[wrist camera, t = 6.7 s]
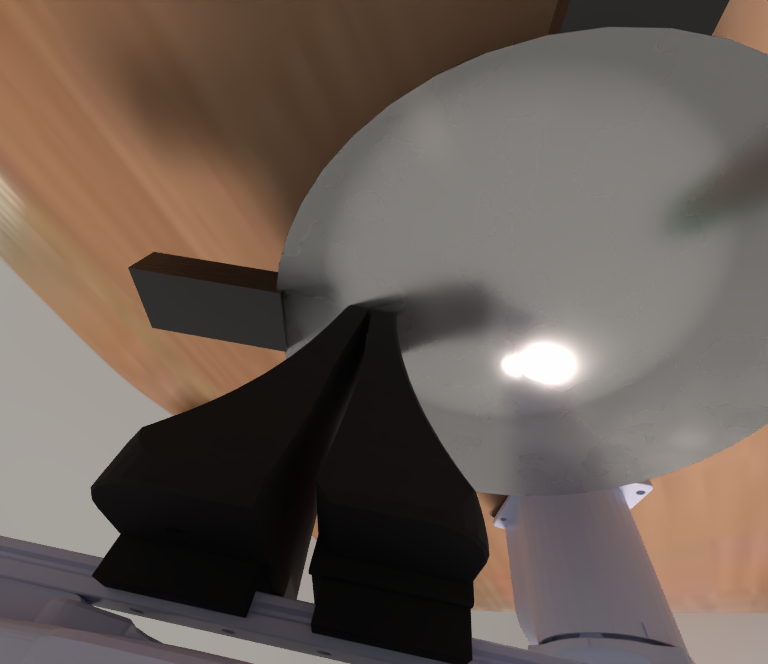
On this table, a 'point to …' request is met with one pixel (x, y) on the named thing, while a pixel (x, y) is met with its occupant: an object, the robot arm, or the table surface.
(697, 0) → the cooker body
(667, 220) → the lid
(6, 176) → the table surface
